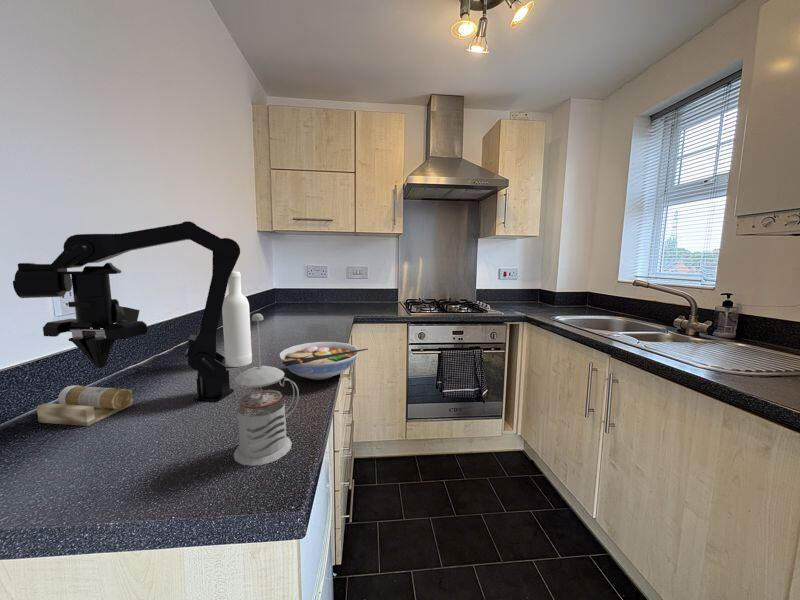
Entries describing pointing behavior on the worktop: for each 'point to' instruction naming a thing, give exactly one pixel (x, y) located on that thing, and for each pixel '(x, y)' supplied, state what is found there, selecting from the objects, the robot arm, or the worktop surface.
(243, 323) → the bottle
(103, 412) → the bottle rest
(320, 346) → the ramen bowl
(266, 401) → the french press
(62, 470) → the worktop surface
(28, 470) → the worktop surface
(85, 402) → the sprinkles bottle
